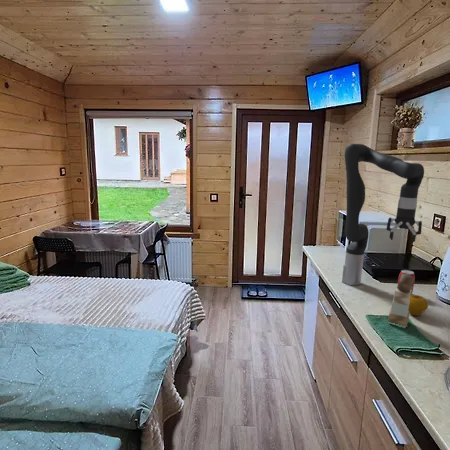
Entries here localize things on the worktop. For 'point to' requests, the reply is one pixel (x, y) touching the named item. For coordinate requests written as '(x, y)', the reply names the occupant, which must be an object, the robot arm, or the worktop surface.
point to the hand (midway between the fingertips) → (401, 241)
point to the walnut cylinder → (405, 283)
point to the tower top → (401, 297)
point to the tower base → (398, 319)
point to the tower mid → (399, 309)
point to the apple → (417, 305)
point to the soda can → (407, 274)
